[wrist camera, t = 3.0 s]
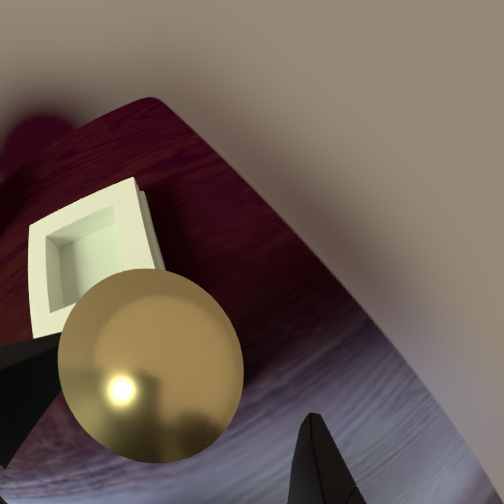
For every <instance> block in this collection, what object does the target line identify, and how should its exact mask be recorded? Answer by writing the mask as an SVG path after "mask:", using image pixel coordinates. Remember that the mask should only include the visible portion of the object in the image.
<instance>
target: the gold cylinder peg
mask: <svg viewBox="0 0 504 504" xmlns="http://www.w3.org/2000/svg"><path fill="white" fill-rule="evenodd" d="M58 370H59V378H60V382H61V387H62V390H63V393H64V396H65V399H66V401H67V403H68V405H69V407H70V409H71V411H72V413H73V414H74V416H75V418H76V419H77V421H78V422H79V423H80V424H81V426H82V427H83V428H84V429H85V430H86V431H87V432H88V433H89V434H90V435H91V436H92V437H93V438H94V439H95V440H96V441H97V442H99V443H100V444H101V445H103V446H104V447H106V448H107V449H109V450H111V451H112V452H114V453H116V454H118V455H121V456H123V457H126V458H128V459H132V460H136V461H140V462H147V463H168V462H175V461H179V460H182V459H186V458H189V457H191V456H193V455H195V454H197V453H199V452H201V451H203V450H204V449H206V448H207V447H208V446H210V445H211V444H212V443H213V442H214V441H215V440H217V439H218V438H219V437H220V436H221V435H222V433H223V432H224V431H225V429H226V428H227V427H228V425H229V424H230V422H231V420H232V418H233V416H234V414H235V413H236V410H237V407H238V404H239V402H240V398H241V393H242V388H243V377H244V368H243V357H242V352H241V348H240V343H239V341H238V338H237V335H236V332H235V330H234V328H233V326H232V324H231V322H230V320H229V318H228V317H227V315H226V314H225V312H224V311H223V309H222V308H221V307H220V305H219V304H218V303H217V302H216V301H215V300H214V299H213V297H212V296H210V295H209V294H208V293H207V292H206V291H205V290H204V289H202V288H201V287H199V286H198V285H197V284H195V283H194V282H192V281H190V280H188V279H186V278H184V277H182V276H180V275H177V274H174V273H172V272H168V271H164V270H159V269H148V268H143V269H132V270H127V271H122V272H119V273H116V274H113V275H111V276H109V277H107V278H105V279H103V280H101V281H100V282H98V283H97V284H95V285H94V286H93V287H91V288H90V289H89V290H88V291H87V292H86V293H85V294H84V295H83V296H82V297H81V298H80V299H79V300H78V302H77V303H76V304H75V306H74V307H73V309H72V310H71V312H70V314H69V316H68V318H67V320H66V322H65V325H64V327H63V330H62V334H61V337H60V342H59V349H58Z"/></svg>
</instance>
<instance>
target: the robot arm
mask: <svg viewBox="0 0 504 504" xmlns="http://www.w3.org/2000/svg"><path fill="white" fill-rule="evenodd" d="M61 334H62V332H58V333H54V334H50V335H46V336H42V337H38V338H34V339H30V340H26V341H22V342H18V343H14V344H10V345H5V346H1V347H0V465H1V466H2V467H3V468H4V469H6V468H7V466H8V465H9V463H10V462H11V460H12V458H13V457H14V455H15V454H16V452H17V451H18V449H19V448H20V446H21V445H22V444H23V442H24V441H25V439H26V438H27V436H28V435H29V433H30V432H31V430H32V429H33V428H34V426H35V425H36V423H37V422H38V421H39V419H40V418H41V417H42V415H43V414H44V412H45V411H46V410H47V408H48V407H49V406H50V404H51V403H52V402H53V400H54V399H55V398H56V397H57V395H58V394H59V393H60V391H61V390H62V387H61V382H60V378H59V370H58V349H59V342H60V337H61ZM0 504H7V503H6V502H5V501H4V500H3V498H2V497H1V496H0ZM287 504H367V503H366V502H365V500H364V498H363V496H362V495H361V493H360V491H359V489H358V487H356V483H355V481H354V479H353V477H352V475H351V474H350V472H349V470H348V468H347V466H346V464H345V462H344V460H343V458H342V456H341V454H340V452H339V450H338V448H337V446H336V444H335V442H334V440H333V438H332V436H331V434H330V432H329V430H328V428H327V426H326V424H325V422H324V420H323V418H322V416H321V415H320V414H316V413H309V414H308V415H307V417H306V418H305V420H304V421H303V423H302V424H301V426H300V430H299V434H298V439H297V444H296V448H295V452H294V457H293V461H292V468H291V477H290V487H289V495H288V503H287Z"/></svg>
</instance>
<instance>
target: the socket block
mask: <svg viewBox="0 0 504 504" xmlns="http://www.w3.org/2000/svg"><path fill="white" fill-rule="evenodd" d="M143 268H148V269H159V270H164V271H166V268H165V265H164V262H163V258H162V255H161V252H160V248H159V245H158V241H157V237H156V234H155V230H154V226H153V223H152V219H151V215H150V211H149V207H148V203H147V199H146V195H145V193H144V191H141V192H140V190H139V188H138V186H137V184H136V181H135V179H134V177H131V178H129V179H126V180H124V181H121V182H119V183H117V184H114V185H112V186H110V187H107V188H105V189H103V190H100V191H98V192H96V193H94V194H91V195H89V196H87V197H85V198H83V199H81V200H78V201H76V202H74V203H72V204H70V205H68V206H66V207H64V208H62V209H60V210H58V211H56V212H54V213H52V214H51V215H49V216H47V217H45V218H43V219H41V220H39V221H38V222H36V223H34V224H32V225H30V229H29V250H28V279H29V299H30V312H31V321H32V329H33V337H34V338H38V337H42V336H46V335H50V334H54V333H58V332H62V330H63V327H64V325H65V322H66V320H67V318H68V316H69V314H70V312H71V310H72V309H73V307H74V306H75V304H76V303H77V302H78V300H79V299H80V298H81V297H82V296H83V295H84V294H85V293H86V292H87V291H88V290H89V289H90V288H91V287H93V286H94V285H95V284H97V283H98V282H100V281H101V280H103V279H105V278H107V277H109V276H111V275H113V274H116V273H119V272H122V271H127V270H132V269H143Z"/></svg>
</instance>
